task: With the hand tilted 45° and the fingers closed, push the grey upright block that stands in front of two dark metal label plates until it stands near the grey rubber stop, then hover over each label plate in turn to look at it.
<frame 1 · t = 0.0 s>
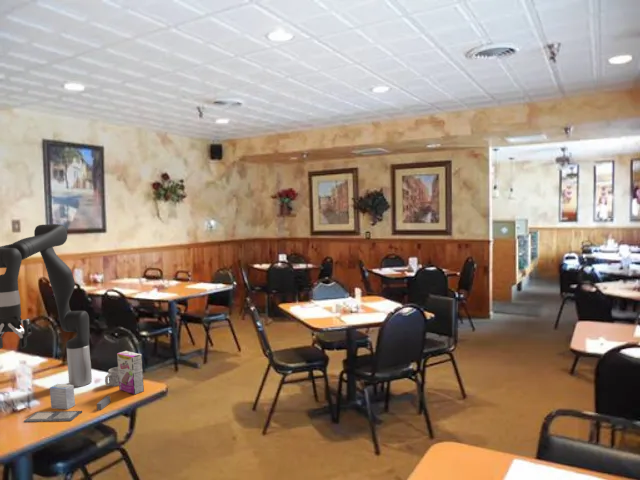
hand: (11, 348, 178), 29 cm above the table, tool pointing down, fingers open, 8 cm apart
grey upright block: (63, 407, 198), on the table
candy bar box: (131, 391, 213), on the table
mug: (114, 385, 222), on the table
rubber stop: (104, 405, 197), on the table
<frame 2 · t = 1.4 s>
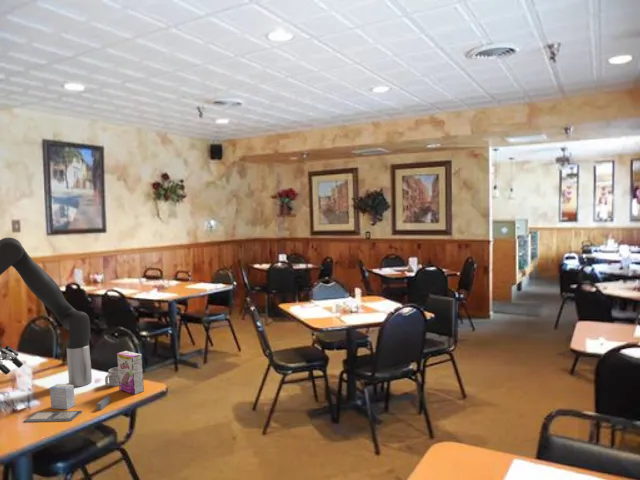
hand: (15, 369, 197), 16 cm above the table, tool tilted 45°, fingers open, 8 cm apart
nothing on the table moved.
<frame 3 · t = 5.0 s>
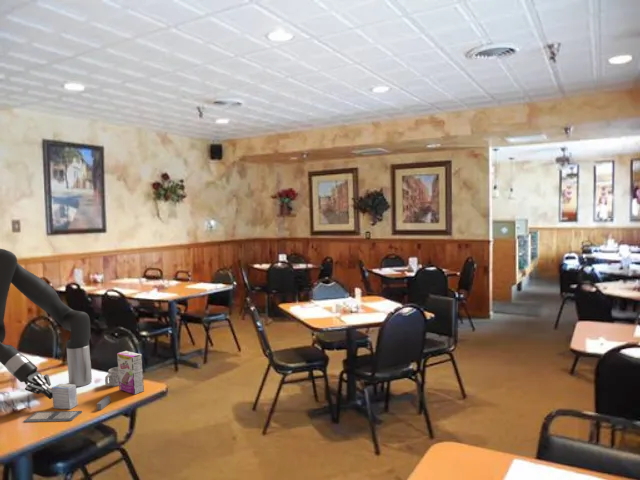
hand: (53, 396, 198), 4 cm above the table, tool tilted 45°, fingers closed
grey upright block: (65, 407, 198), on the table, touching gripper
everything else where it was.
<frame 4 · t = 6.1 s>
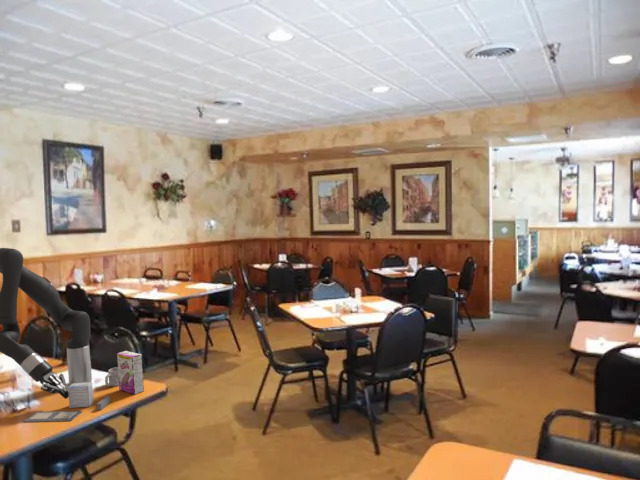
hand: (68, 396, 197), 4 cm above the table, tool tilted 45°, fingers closed
grey upright block: (81, 406, 199), on the table, touching gripper
everything else where it was.
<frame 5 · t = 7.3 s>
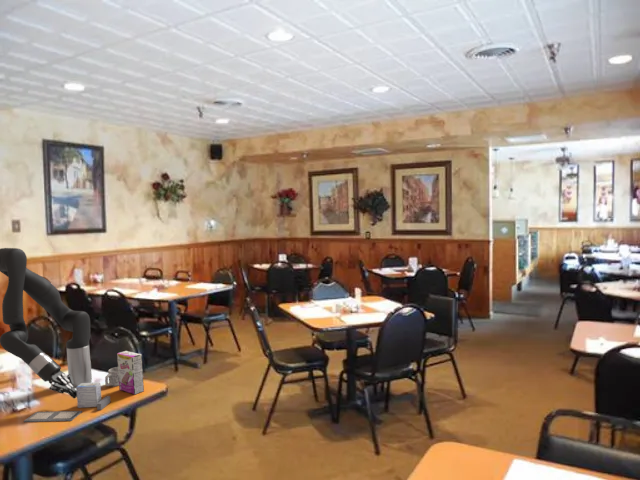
hand: (77, 396, 197), 4 cm above the table, tool tilted 45°, fingers closed
grey upright block: (90, 406, 198), on the table, touching gripper
everything else where it was.
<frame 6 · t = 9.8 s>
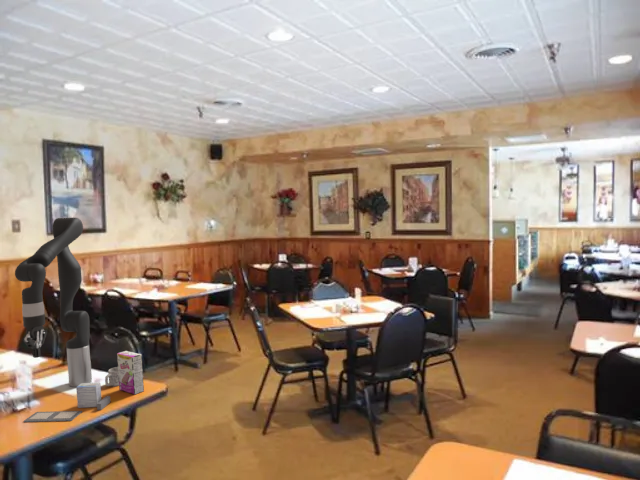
hand: (36, 357, 196), 21 cm above the table, tool pointing down, fingers closed
grey upright block: (90, 406, 198), on the table
everything else where it was.
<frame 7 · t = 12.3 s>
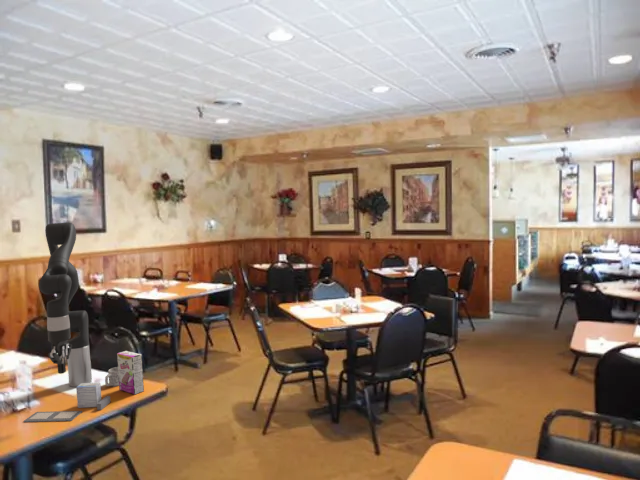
hand: (62, 372, 187), 17 cm above the table, tool pointing down, fingers closed
nothing on the table moved.
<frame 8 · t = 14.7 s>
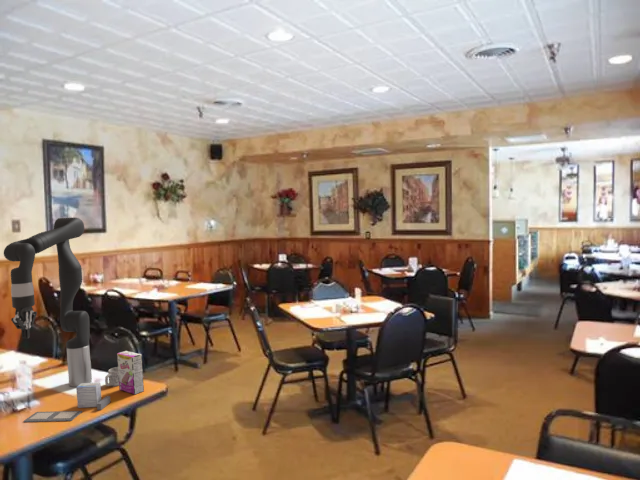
hand: (26, 338, 193), 29 cm above the table, tool pointing down, fingers closed
nothing on the table moved.
at the end: grey upright block inside the target area (1.0 cm from its centre), on the table; grey upright block tilted 0°; grey upright block moved 10.4 cm from its start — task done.
